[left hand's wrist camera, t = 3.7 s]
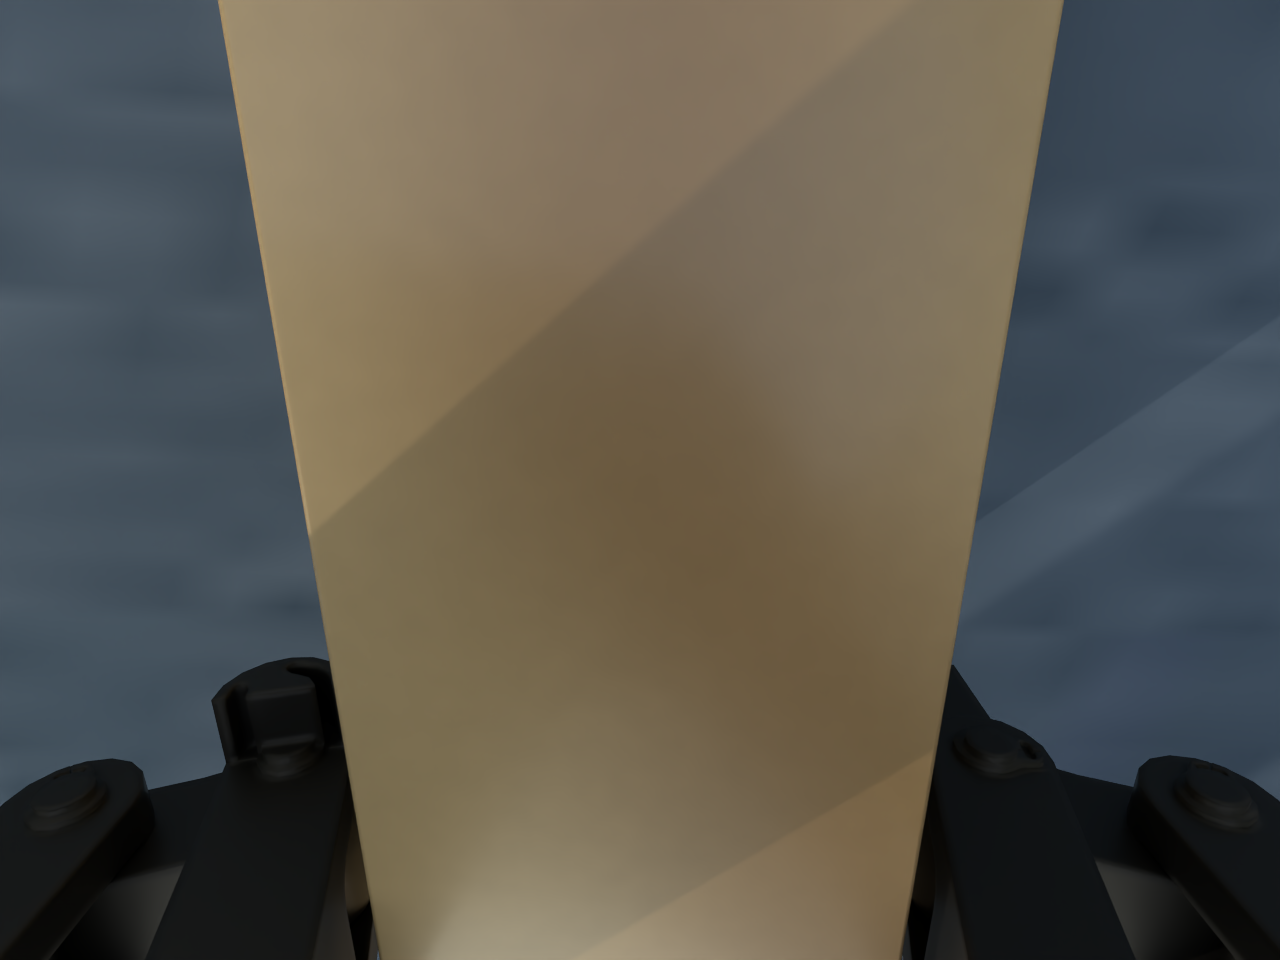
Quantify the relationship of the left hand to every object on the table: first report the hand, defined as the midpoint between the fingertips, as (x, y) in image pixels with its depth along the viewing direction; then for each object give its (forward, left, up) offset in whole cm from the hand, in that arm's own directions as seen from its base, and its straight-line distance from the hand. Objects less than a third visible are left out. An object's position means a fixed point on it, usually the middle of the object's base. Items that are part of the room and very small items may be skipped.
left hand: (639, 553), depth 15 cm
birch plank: (0, +8, 0) cm, 9 cm away
